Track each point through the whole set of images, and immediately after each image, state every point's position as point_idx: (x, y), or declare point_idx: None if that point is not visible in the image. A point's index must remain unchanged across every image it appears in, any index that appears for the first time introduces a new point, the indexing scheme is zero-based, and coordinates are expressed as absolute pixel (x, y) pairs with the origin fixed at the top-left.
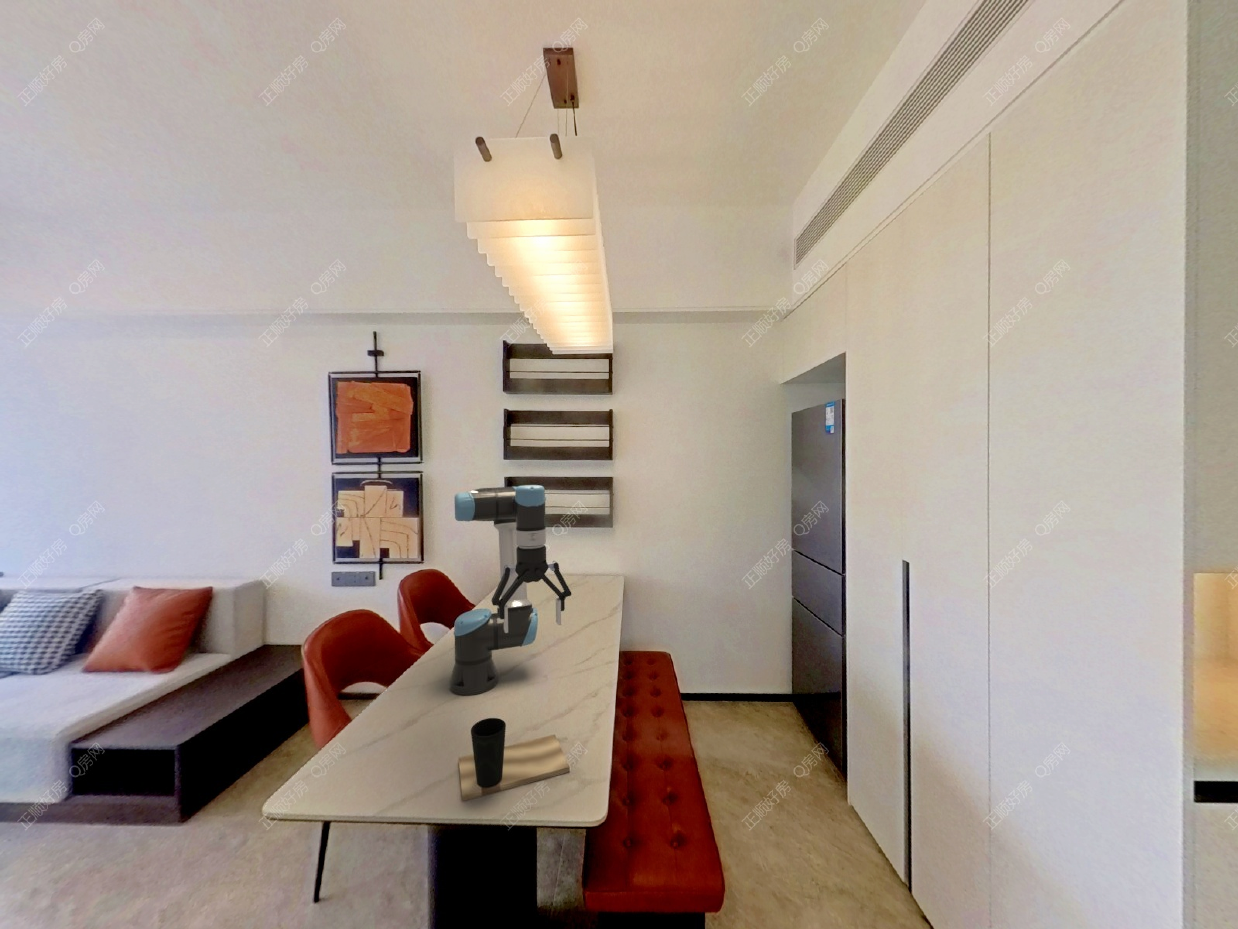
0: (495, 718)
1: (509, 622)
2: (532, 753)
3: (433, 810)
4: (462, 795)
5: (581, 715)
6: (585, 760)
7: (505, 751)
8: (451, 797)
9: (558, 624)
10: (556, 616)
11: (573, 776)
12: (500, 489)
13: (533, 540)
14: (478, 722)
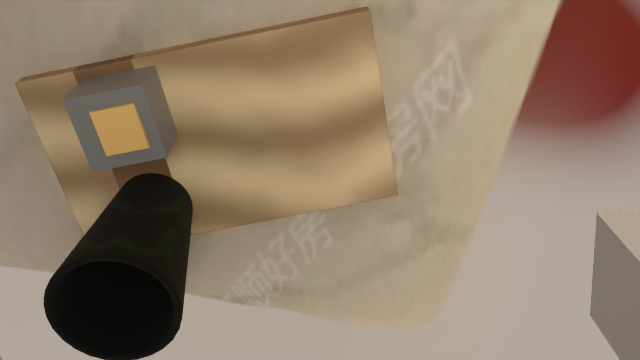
0: (128, 263)
1: None
2: (281, 111)
3: (27, 261)
4: None
5: None
6: (452, 146)
7: (183, 81)
8: (59, 226)
9: (596, 323)
10: (637, 290)
11: (402, 206)
12: None
13: None
14: (61, 277)
